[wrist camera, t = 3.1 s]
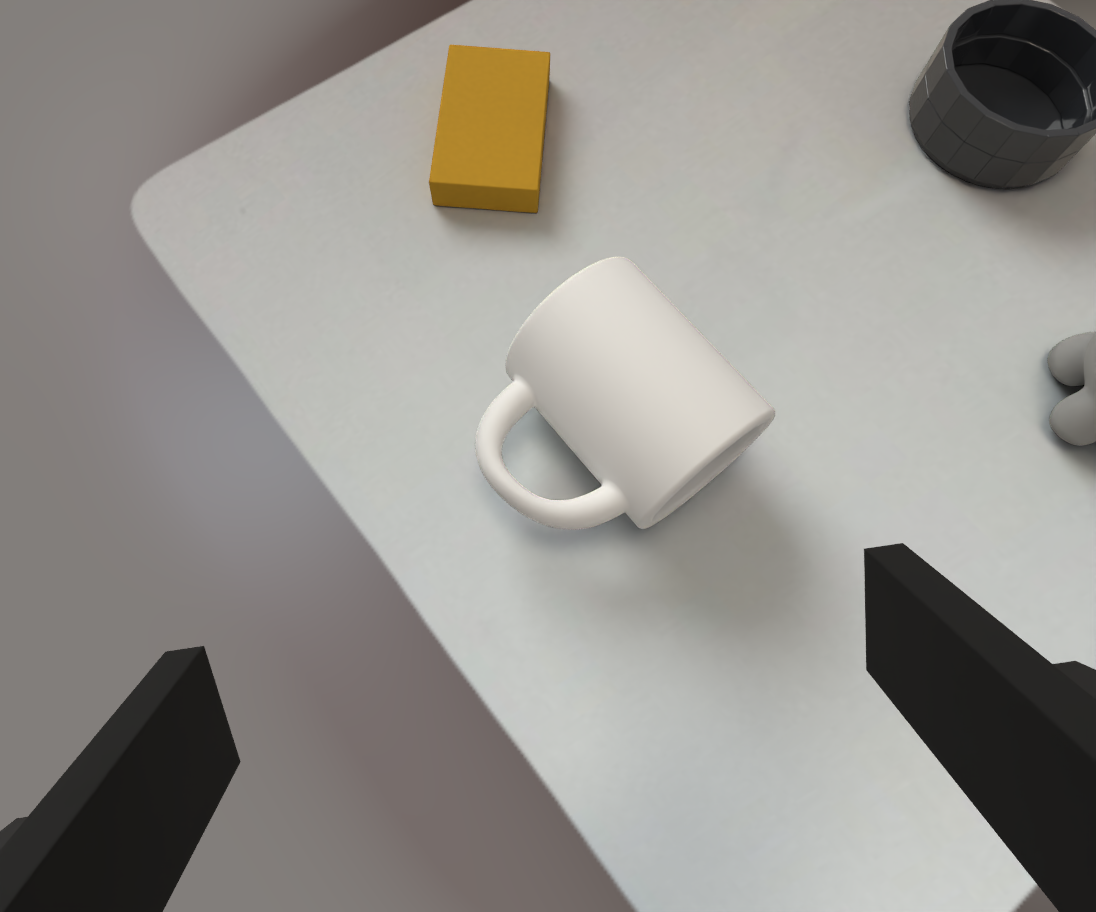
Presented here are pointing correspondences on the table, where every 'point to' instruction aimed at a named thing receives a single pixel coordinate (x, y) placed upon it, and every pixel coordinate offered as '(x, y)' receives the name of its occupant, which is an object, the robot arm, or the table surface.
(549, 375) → the mug
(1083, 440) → the round bodied animal figurine
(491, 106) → the ochre rectangular brick
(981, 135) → the dark grey round container
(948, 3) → the table surface
